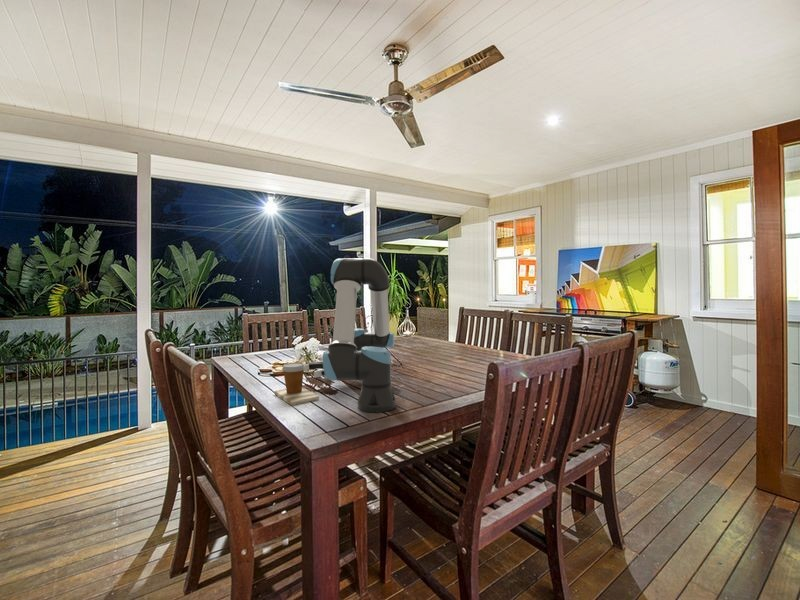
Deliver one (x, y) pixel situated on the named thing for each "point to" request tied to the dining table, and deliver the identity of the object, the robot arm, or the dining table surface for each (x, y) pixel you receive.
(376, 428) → the dining table surface
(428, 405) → the dining table surface
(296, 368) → the disposable coffee cup
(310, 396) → the serving board
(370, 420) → the dining table surface
